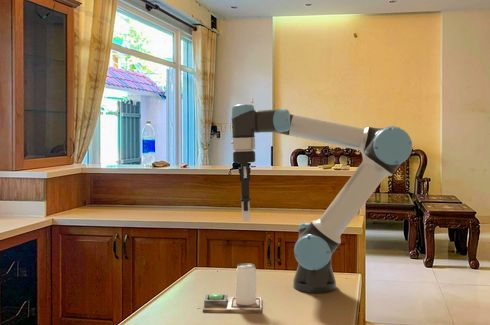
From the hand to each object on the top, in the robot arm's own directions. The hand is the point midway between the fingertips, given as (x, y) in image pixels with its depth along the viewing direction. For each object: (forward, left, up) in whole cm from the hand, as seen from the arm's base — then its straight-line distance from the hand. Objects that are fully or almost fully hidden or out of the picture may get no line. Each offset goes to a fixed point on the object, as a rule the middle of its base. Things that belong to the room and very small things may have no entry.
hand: (246, 220), depth 173 cm
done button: (+9, +12, -24) cm, 29 cm away
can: (0, +12, -25) cm, 28 cm away
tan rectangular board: (+3, +12, -25) cm, 28 cm away
